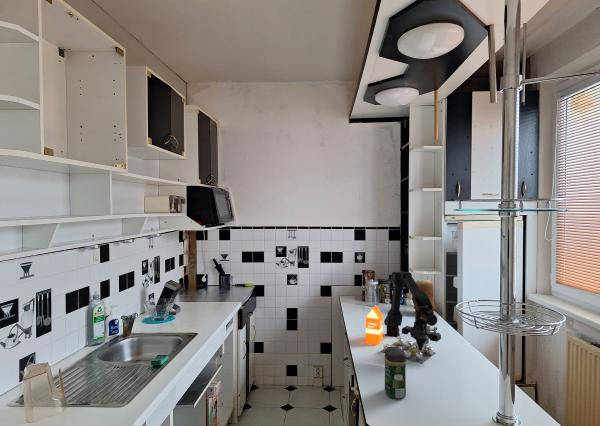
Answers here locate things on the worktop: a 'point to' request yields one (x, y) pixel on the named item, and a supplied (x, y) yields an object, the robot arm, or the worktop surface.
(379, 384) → the worktop surface
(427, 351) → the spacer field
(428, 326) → the mechanical component
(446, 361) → the worktop surface
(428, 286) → the butternut squash
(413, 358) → the mat
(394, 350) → the coffee jar
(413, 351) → the nut
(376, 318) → the orange juice
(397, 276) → the robot arm
